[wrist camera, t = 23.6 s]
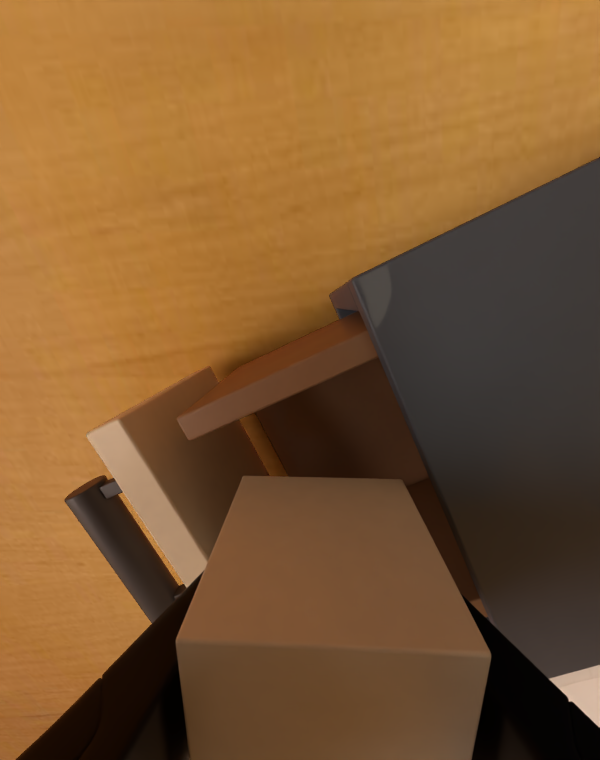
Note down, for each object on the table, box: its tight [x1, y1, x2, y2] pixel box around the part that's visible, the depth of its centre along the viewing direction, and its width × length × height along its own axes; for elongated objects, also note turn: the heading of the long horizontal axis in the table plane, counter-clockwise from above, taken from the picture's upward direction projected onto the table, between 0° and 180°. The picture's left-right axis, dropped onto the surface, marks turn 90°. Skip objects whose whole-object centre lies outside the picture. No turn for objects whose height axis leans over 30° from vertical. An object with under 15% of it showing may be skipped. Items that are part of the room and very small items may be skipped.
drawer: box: [65, 311, 488, 623], centre depth 13 cm, size 19×11×8 cm, turn 115°
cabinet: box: [329, 157, 600, 679], centre depth 11 cm, size 15×13×10 cm
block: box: [176, 476, 491, 760], centre depth 7 cm, size 4×4×4 cm
